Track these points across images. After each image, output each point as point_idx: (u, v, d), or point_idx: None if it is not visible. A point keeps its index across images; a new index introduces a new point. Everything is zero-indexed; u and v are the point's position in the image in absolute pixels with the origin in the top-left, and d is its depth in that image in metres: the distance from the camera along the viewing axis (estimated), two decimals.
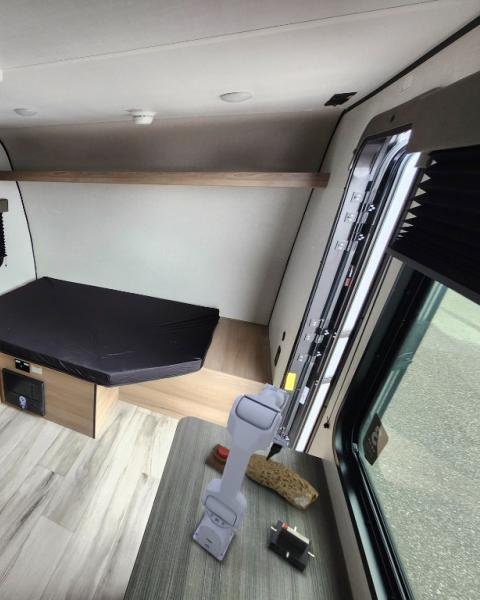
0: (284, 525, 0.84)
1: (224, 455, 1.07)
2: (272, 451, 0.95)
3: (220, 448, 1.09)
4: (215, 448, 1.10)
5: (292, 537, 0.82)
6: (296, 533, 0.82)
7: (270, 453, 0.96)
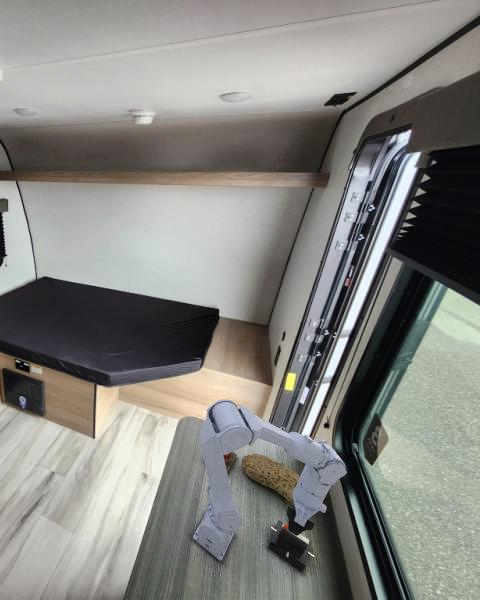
0: (284, 525, 0.84)
1: (224, 455, 1.07)
2: None
3: None
4: None
5: (292, 537, 0.82)
6: None
7: None
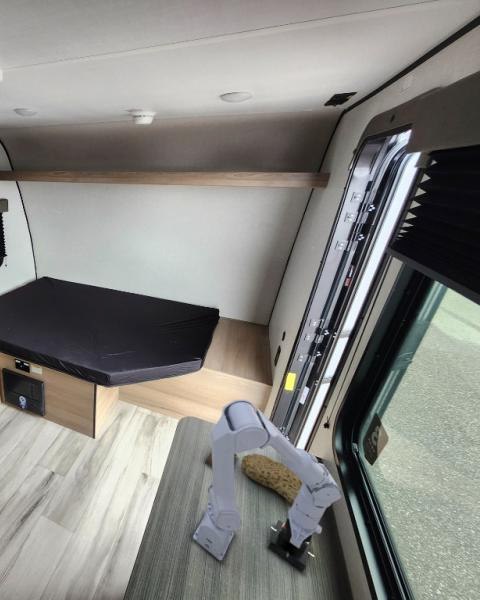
0: (284, 525, 0.84)
1: None
2: None
3: None
4: None
5: None
6: None
7: None
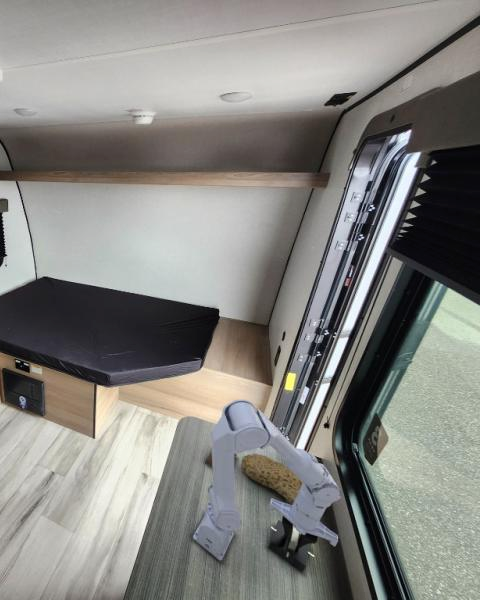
0: None
1: None
2: None
3: None
4: None
5: (291, 533, 0.83)
6: (295, 534, 0.82)
7: None
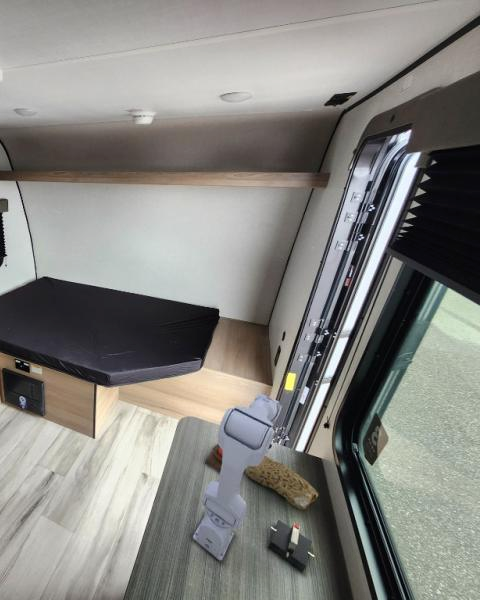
0: (296, 524, 0.84)
1: None
2: None
3: (220, 448, 1.09)
4: (215, 448, 1.10)
5: (291, 533, 0.83)
6: (295, 534, 0.82)
7: None
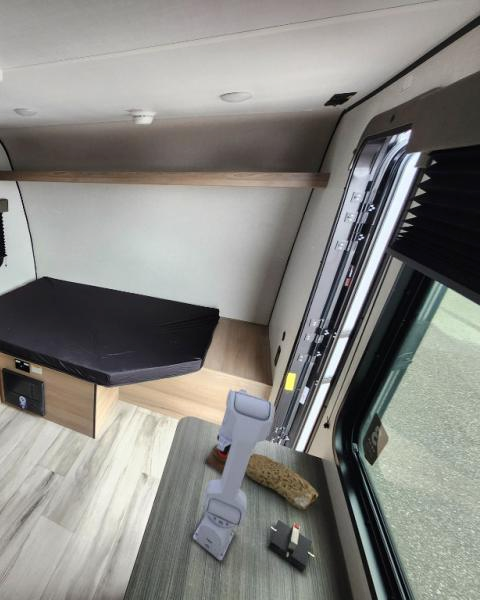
0: (296, 524, 0.84)
1: None
2: None
3: (219, 450, 1.09)
4: (215, 448, 1.10)
5: (291, 533, 0.83)
6: (295, 534, 0.82)
7: None
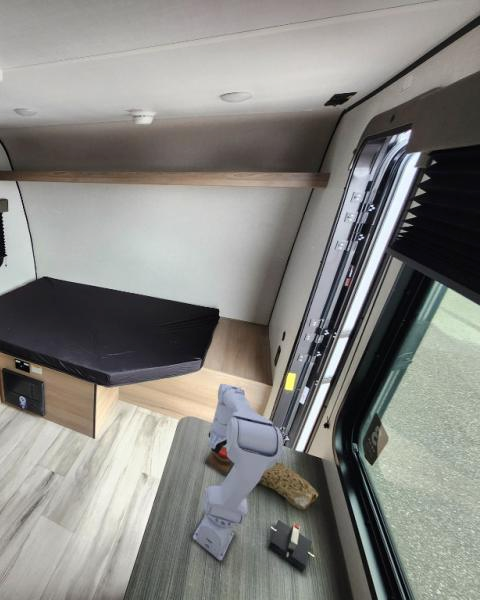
0: (296, 524, 0.84)
1: (224, 455, 1.07)
2: None
3: None
4: None
5: (291, 533, 0.83)
6: (295, 534, 0.82)
7: None
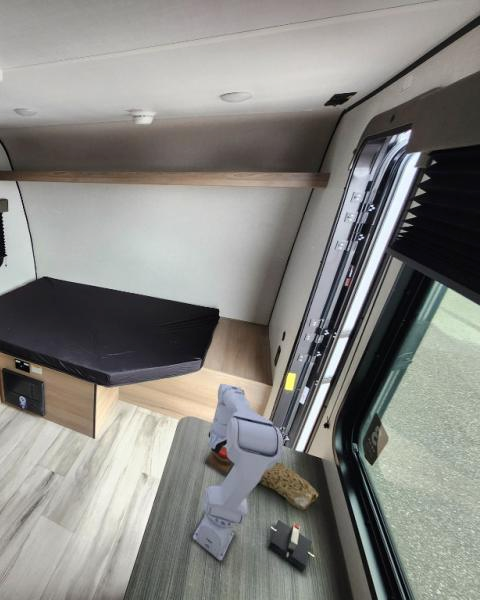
0: (296, 524, 0.84)
1: (224, 455, 1.07)
2: None
3: None
4: None
5: (291, 533, 0.83)
6: (295, 534, 0.82)
7: None
